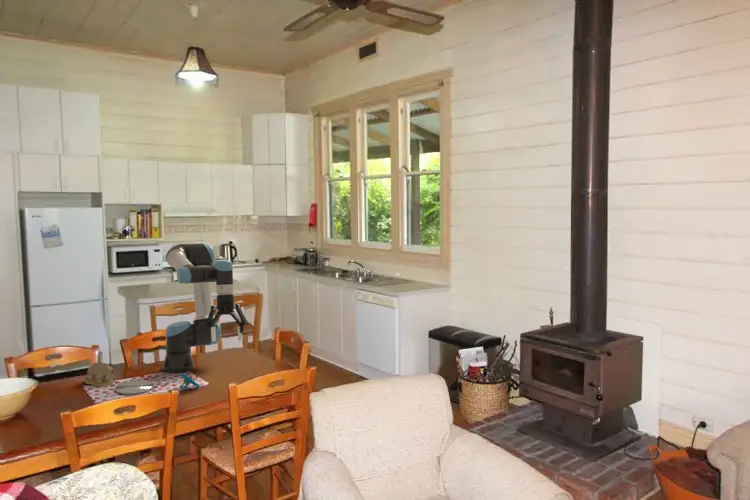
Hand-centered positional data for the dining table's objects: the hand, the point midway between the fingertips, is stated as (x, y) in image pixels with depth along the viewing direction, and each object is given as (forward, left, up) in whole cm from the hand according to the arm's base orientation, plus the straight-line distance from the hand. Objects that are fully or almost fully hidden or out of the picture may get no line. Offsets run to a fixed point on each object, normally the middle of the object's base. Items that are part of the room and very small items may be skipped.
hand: (227, 340), depth 254 cm
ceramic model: (-14, -58, -22) cm, 64 cm away
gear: (0, -16, -22) cm, 27 cm away
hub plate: (-2, -40, -22) cm, 46 cm away
